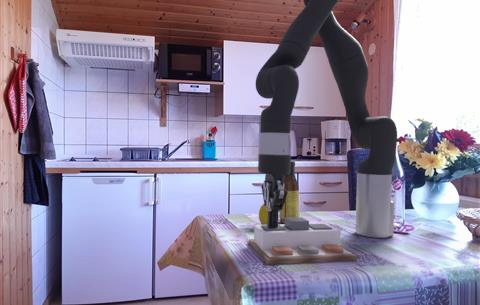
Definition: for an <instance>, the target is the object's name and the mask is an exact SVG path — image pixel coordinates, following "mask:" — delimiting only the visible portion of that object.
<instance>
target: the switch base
mask: <svg viewBox="0 0 480 305" xmlns="http://www.w3.org/2000/svg"><path fill="white" fill-rule="evenodd" d="M248 244H249V245H250V247H251V248H252V249H253V250H254V251H255V252H256V253H257V255H258V256H259V257H260V258H261V259H262V261H263V262H264V263H265V264H266V265H268V266H269V265H284V264H286V265H288V264H307V263H326V262H327V263H328V262H350V261H352V262H353V261H357V259H358V258H357V257H358V256H357V255H356V254H354V253H353V252H351V251H349V250H348V249H346V248H344V247H342V246H341V245H340V246H339V245H337V244H331V245H322V248H320V249H317V248H316V247H315V246H313V245H303V246H297V249H294V250H292V249H291V248H290V247H288V246H275V247H272V250H268V251H262V250H261V249H260V247H259V246H258V245H257V244H256V243H255V242H254V238H252V239H251V238H249V239H248Z"/></svg>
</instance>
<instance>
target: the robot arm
mask: <svg viewBox="0 0 480 305" xmlns="http://www.w3.org/2000/svg"><path fill="white" fill-rule="evenodd" d="M302 1H303V4H304V6H305V7H304V8H303V9H302V10H301V12H299V14H298V15H297V16H296V17H295V18H294V20H293V21H292V22H291V23H290V25H289V27H288V28H287V29H286V31H285V32H284V34H283V37H282V39H281V40H280V43H279V44H278V46H277V48H276V50H275V52H273V54H271V56H269V58H268V59H267V60H266V61H265V63H264V64H263V66H262V67H261V68H260V69H259V71H258V73H257V75H256V77H255V78H256V79H255V90H256V92H257V94H258V95H259V96H260V97H262V98H264V99H267V100H268V99H269V100H270V99H271V103H270V105H269V106H267V107H266V108H264V109H262V111H261V114H260V122H259V123H260V126H259V127H260V128H259V131H260V132H259V138H258V139H259V140H258V157H257V158H258V159H257V160H258V161H257V163H258V164H257V171H258V173H259V174H265V175H264V176H265V177H264V181H263V184H261V192H262V198H263V204H264V205H265V206H266V209H267V210H268V215H267V226H269V227H270V228H277V227H278V224H279V211H280V210H282V209H283V206H284V203H285V200H286V197H287V193H288V192H287V190H284V182H283V174H289V173H290V166H291V161H292V160H291V159H292V158H291V157H292V138H291V124H292V123H291V119H292V118H291V117H292V113H293V110H294V108H295V104H296V99H297V96H298V93H299V88H300V80H299V75H298V73H297V70H296V69H298V68H299V67H300V66H302V64H303V63H304V61H305V59H306V57H307V55H308V53H309V51H310V49H311V46H312V45H313V42H314V40H315V39H316V37H317V35H318V37H319V39H320V42H321V45H322V46H323V47H322V48H324V51H325V54H326V57H327V61H328V63H329V66H330V69H331V72H332V75H333V78H334V80H335V82H336V85H337V88H338V91H339V94H340V97H341V100H342V103H343V106H344V109H345V113H346V118H347V122H348V125H349V129H350V134H351V137H352V140H353V142H354V143H355V144H356V146H357V147H358V148H360V149H362V150H369V154H368V157H367V158H366V159H365V160H363V161H360V162H358V163H357V167H356V168H357V173H356V203H355V233H356V234H358V235H359V236H363V237H367V238H375V239H377V238H381V239H383V238H384V239H385V238H389V237H394V229H395V228H394V226H395V225H394V224H395V222H394V220H395V202H394V201H393V200H392V184H393V183H392V179H393V168H394V166H395V164H396V156H397V146H398V145H397V144H398V131H397V130H398V129H397V125H396V123H395V121H394V120H393V119H392V118H390V117H388V116H371V115H370V112H369V109H368V106H367V103H366V102H367V101H366V92H367V86H368V81H369V75H370V73H369V65H368V62H367V58H366V56H365V55H366V54H365V52H364V50H363V47H362V46H361V43H360V42H359V41H358V40H357V39H356V38H355V37H354V36H352V34H350V33H349V32H348V31H347V30H345V28H343V27H342V26H341V24H340V23H339V22H338V21H337V19H336V17H335V15H334V12H333V10H334V8H335V7H336V6H337V5H338V3H339V1H340V0H302Z"/></svg>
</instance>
